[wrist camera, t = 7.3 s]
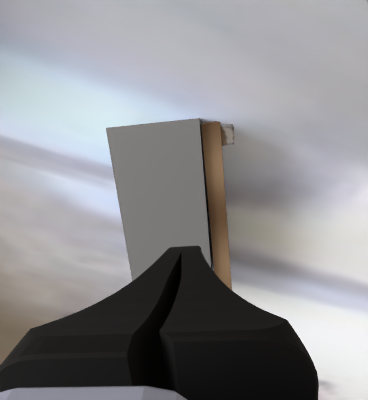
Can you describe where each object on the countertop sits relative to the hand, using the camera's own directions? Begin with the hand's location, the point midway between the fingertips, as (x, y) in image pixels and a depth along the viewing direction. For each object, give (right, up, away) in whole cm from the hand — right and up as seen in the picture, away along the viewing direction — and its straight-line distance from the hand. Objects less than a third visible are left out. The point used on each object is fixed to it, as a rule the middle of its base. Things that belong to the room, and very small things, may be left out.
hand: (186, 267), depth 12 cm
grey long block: (-1, +3, +10) cm, 10 cm away
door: (+3, +3, +9) cm, 10 cm away
